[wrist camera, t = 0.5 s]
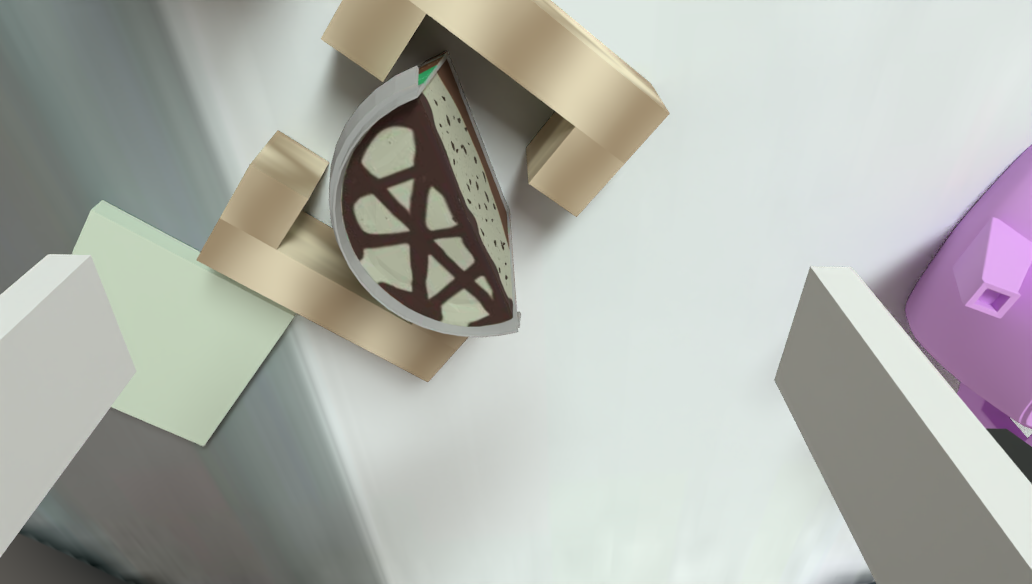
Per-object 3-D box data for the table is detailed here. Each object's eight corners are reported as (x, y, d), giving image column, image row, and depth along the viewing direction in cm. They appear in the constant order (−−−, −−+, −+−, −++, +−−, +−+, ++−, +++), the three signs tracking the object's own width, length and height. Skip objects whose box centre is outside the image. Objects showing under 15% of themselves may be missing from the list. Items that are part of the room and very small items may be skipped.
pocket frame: (227, 219, 37) (196, 260, 33) (415, -112, 28) (402, -107, 24) (434, 335, 42) (427, 382, 38) (651, 83, 33) (669, 113, 29)
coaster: (32, 356, 42) (21, 368, 41) (102, 200, 36) (91, 209, 35) (210, 433, 47) (203, 446, 46) (299, 305, 40) (294, 316, 39)
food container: (320, 62, 32) (256, 135, 24) (435, 20, 31) (410, 81, 23) (420, 263, 39) (397, 375, 31) (518, 233, 38) (521, 340, 30)
